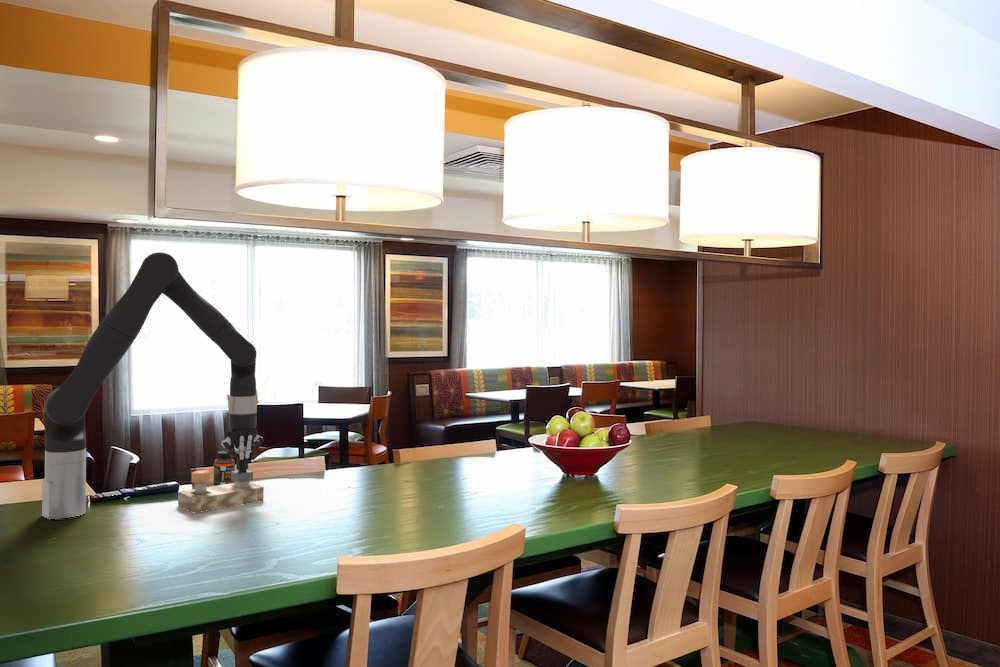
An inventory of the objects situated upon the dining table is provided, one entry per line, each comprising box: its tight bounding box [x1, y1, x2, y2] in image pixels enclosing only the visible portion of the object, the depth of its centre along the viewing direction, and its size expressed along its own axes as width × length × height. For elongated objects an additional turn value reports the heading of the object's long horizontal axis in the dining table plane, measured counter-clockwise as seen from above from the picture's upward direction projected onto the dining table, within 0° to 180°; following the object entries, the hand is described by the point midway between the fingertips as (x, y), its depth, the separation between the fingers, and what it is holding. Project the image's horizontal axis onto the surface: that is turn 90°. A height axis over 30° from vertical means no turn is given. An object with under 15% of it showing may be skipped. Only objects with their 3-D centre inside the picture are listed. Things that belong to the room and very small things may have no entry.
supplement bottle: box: [213, 450, 236, 486], centre depth 224 cm, size 6×6×11 cm
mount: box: [177, 481, 265, 513], centre depth 208 cm, size 20×10×4 cm, turn 136°
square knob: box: [231, 469, 254, 489], centre depth 212 cm, size 4×4×6 cm
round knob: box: [191, 470, 211, 496], centre depth 203 cm, size 5×5×6 cm
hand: (242, 471), depth 212 cm, fingers closed
